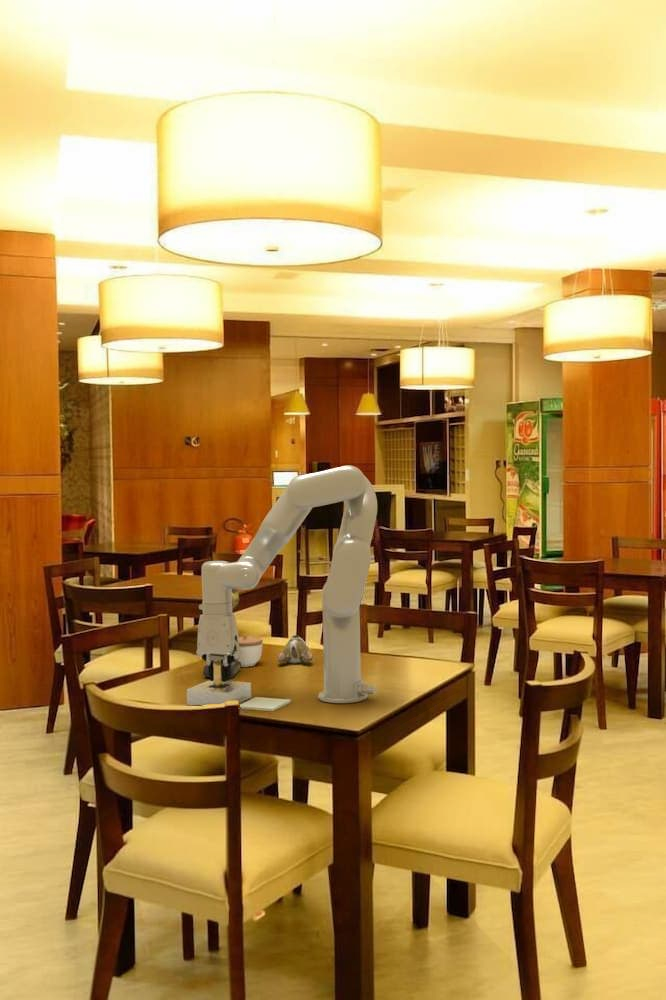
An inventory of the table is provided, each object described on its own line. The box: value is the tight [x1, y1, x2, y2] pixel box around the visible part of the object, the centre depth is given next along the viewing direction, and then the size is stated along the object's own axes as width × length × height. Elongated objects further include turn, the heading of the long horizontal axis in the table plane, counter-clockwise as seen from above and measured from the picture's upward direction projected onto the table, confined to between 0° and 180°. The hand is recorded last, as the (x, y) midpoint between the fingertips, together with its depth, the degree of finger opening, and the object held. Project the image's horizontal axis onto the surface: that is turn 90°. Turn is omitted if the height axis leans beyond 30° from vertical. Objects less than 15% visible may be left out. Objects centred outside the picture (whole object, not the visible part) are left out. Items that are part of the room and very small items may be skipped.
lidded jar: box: [237, 633, 263, 668], centre depth 298 cm, size 11×11×9 cm
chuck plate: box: [186, 679, 252, 706], centre depth 251 cm, size 12×12×4 cm
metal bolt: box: [209, 654, 225, 688], centre depth 251 cm, size 5×5×10 cm
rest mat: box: [239, 696, 292, 712], centre depth 246 cm, size 10×10×1 cm
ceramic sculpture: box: [277, 635, 314, 664], centre depth 301 cm, size 11×9×15 cm
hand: (220, 679), depth 251 cm, fingers closed on metal bolt, 3 cm apart
